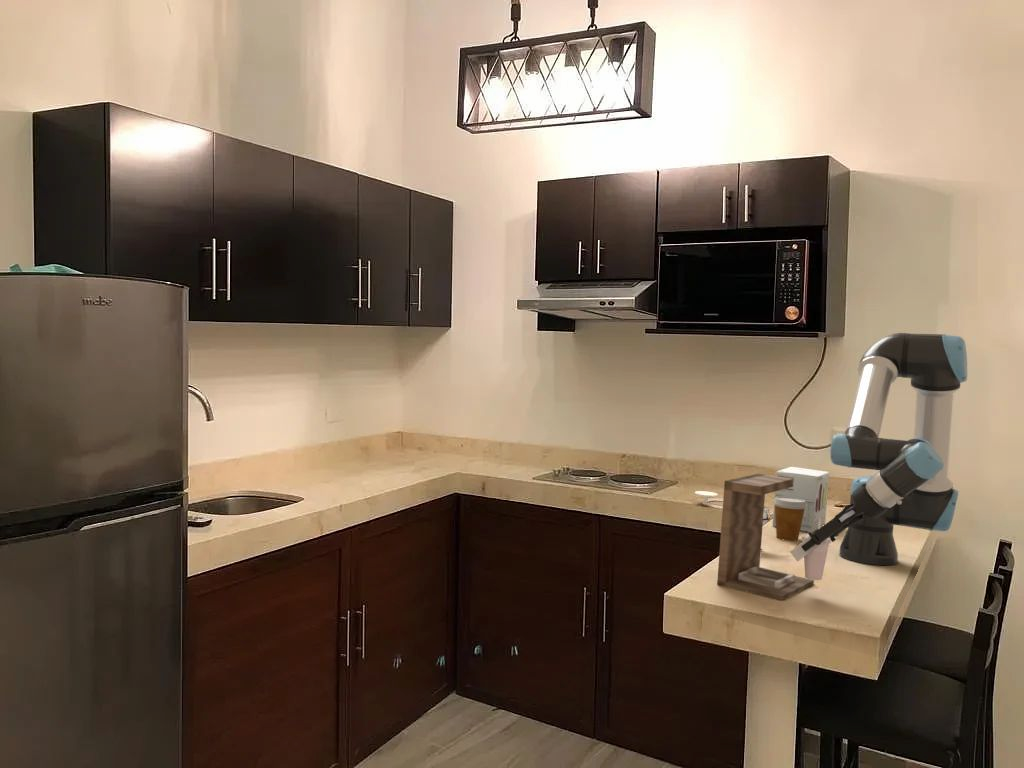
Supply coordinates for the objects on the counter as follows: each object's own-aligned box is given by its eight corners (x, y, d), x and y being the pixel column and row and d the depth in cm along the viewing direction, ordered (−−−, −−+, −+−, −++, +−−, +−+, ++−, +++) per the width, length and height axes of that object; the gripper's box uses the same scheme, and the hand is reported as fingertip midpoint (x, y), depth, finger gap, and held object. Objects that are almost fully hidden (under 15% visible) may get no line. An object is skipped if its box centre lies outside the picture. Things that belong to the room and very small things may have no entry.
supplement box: (813, 533, 274) (818, 476, 273) (771, 526, 281) (775, 470, 280) (826, 525, 288) (830, 471, 287) (786, 518, 295) (790, 465, 294)
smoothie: (830, 582, 199) (834, 522, 198) (801, 580, 200) (805, 519, 199) (825, 575, 205) (829, 516, 205) (797, 572, 206) (801, 514, 206)
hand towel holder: (759, 500, 305) (701, 497, 304) (758, 512, 305) (700, 509, 304) (743, 491, 322) (689, 488, 321) (742, 503, 322) (688, 500, 321)
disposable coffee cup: (807, 538, 265) (810, 499, 264) (798, 543, 257) (801, 503, 256) (776, 533, 270) (779, 495, 270) (766, 538, 262) (769, 498, 262)
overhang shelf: (751, 570, 223) (758, 473, 222) (813, 584, 213) (821, 483, 212) (717, 584, 208) (724, 480, 206) (782, 600, 198) (790, 491, 196)
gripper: (875, 515, 185) (794, 574, 196) (900, 504, 200) (823, 560, 211) (851, 486, 188) (773, 547, 199) (877, 478, 203) (803, 534, 214)
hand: (799, 553), depth 205 cm, fingers closed on smoothie, 6 cm apart
